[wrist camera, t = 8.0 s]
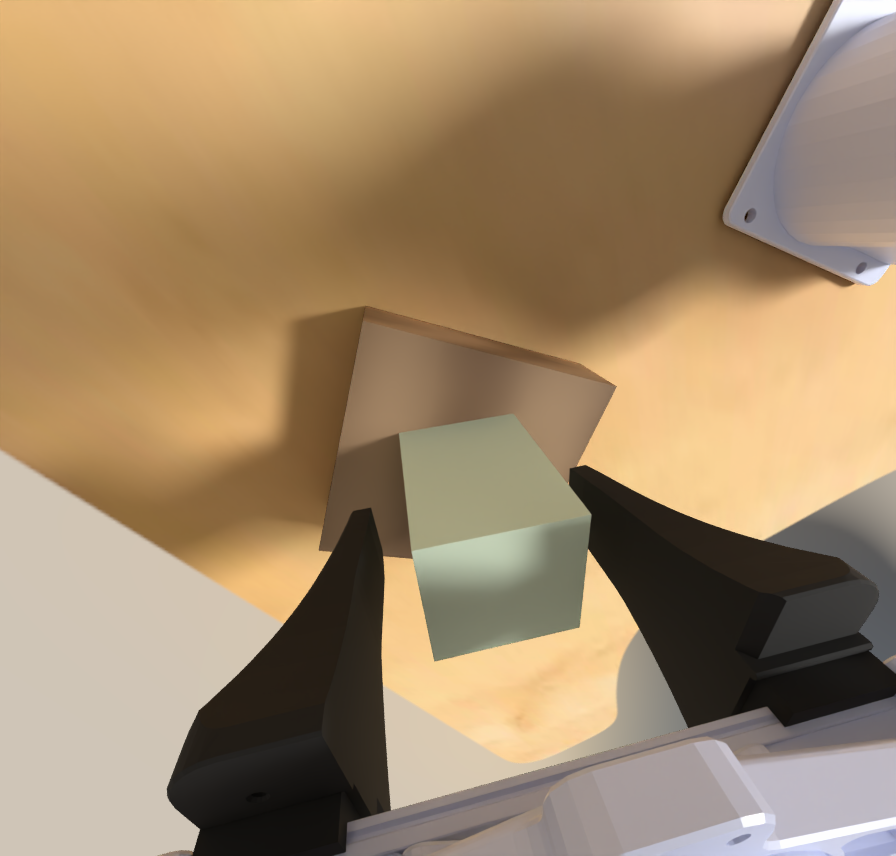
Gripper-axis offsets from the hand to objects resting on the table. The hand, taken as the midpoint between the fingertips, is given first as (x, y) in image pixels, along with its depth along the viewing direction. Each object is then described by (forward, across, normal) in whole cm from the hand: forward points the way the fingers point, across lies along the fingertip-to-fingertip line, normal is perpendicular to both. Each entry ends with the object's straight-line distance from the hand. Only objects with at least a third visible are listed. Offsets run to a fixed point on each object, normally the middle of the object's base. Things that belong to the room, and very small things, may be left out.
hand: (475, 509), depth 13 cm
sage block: (+2, 0, 0) cm, 2 cm away
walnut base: (+5, 0, 0) cm, 5 cm away
